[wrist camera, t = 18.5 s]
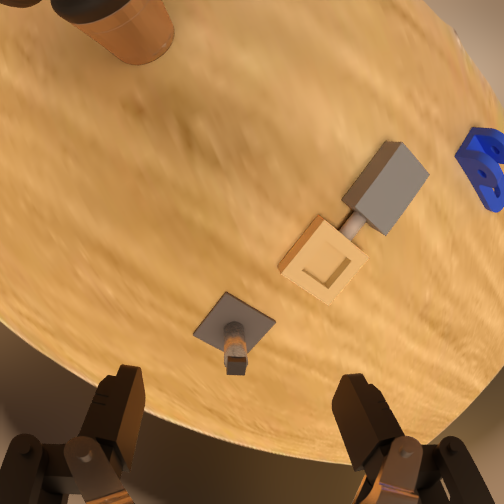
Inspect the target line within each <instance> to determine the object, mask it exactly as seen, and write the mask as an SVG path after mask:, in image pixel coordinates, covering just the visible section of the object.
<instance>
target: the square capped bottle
mask: <svg viewBox="0 0 504 504" xmlns="http://www.w3.org/2000/svg"><path fill="white" fill-rule="evenodd" d="M224 365H225V367H226V368H227V369H226V371H227V375H245V371H246V367H247V365H248V358H247V349H246V340H245V331H244V326H243V325H242V324H241V323H239V322H236V321H233V322H229V323H227V324H226V325H225V327H224Z"/></svg>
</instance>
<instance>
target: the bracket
mask: <svg viewBox="0 0 504 504" xmlns="http://www.w3.org/2000/svg"><path fill="white" fill-rule="evenodd" d="M455 158H456V159H457V161H458V162H459V164H460V165H461V167H462V169H463V170H464V172H465V174H466V175H467V177H468V178H469V180H470V182H471V184H472V185H473V187H474V189H475V190H476V192H477V194H478V196H479V198H480V200H481V201H482V203H483V205H484V207H485V208H486V209H487V210H490V211H492V212H499V211H501V210H502V209H503V207H504V174H503V172H502V170H501V168H500V166H499V164H498V163H500V164H504V134H503V133H501V132H500V131H498V130H496V129H492V128H476V127H472V128H471V130H470V132H469V133H468V135H467V137H466V138H465V140H464V142H463V143H462V145H461V146H460V148H459V150H458V151H457V153H456V154H455ZM492 188H494V190H495V191H493V189H492Z"/></svg>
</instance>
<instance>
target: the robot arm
mask: <svg viewBox="0 0 504 504" xmlns="http://www.w3.org/2000/svg"><path fill="white" fill-rule="evenodd" d="M40 1H41V0H0V3H1V4H4V5H7V6H11V7H18V8H26V7H30V6H33V5H35V4H37V3H39V2H40ZM51 5H52V8H53V10H54V11H55V12H56V13H57V14H58V15H59V16H60V17H62V18H63V19H65V20H66V21H68V22H70V23H71V24H72V25H74V26H75V27H77V28H78V29H80V30H81V31H83V32H84V33H85V34H87V35H88V36H90V37H91V38H92V39H94V40H95V41H97V42H98V43H99V44H101V45H102V46H103V47H105V48H106V49H107V50H109V51H110V52H111V53H112V54H114V55H115V56H116V57H118V58H119V59H120V60H122V61H123V62H125V63H128V64H131V65H141V64H146V63H149V62H151V61H153V60H155V59H157V58H159V57H160V56H161V55H163V54H164V53H165V52H166V51H167V49H168V48H169V46H170V45H171V43H172V41H173V37H174V27H173V24H172V22H171V20H170V18H169V15H168V13H167V11H166V8H165V6H164V4H163V2H162V0H51ZM385 401H386V400H385V398H384V397H383V395H382V393H381V391H380V390H378V389H377V388H376V387H375V386H374V385H373V384H368V383H367V381H366V379H365V377H364V376H363V374H361V373H358V374H346V375H343V376H342V378H341V380H340V383H339V385H338V388H337V390H336V392H335V395H334V397H333V400H332V411H333V414H334V417H335V420H336V422H337V425H338V428H339V430H340V433H341V436H342V438H343V441H344V444H345V447H346V449H347V452H348V455H349V457H350V460H351V463H352V466H353V468H354V471H360V470H365V472H366V475H365V476H364V478H363V480H362V482H361V484H360V487H359V489H358V491H357V493H356V496H355V498H354V500H353V502H352V504H495V503H494V500H493V498H492V496H491V494H490V492H489V490H488V488H487V486H486V484H485V482H484V480H483V478H482V476H481V474H480V472H479V471H478V468H477V466H476V465H475V463H474V461H473V459H472V457H471V455H470V453H469V452H468V450H467V448H466V446H465V445H464V443H463V442H462V441H461V440H460V439H459V438H457V437H454V436H448V437H445V438H444V439H443V440H442V441H441V442H440V443H439V444H438V445H421V444H420V443H419V441H418V440H416V439H415V438H413V437H410V436H405V435H404V433H403V431H402V429H401V427H400V426H399V424H398V422H397V420H396V418H395V416H394V415H393V413H392V411H391V409H389V408H390V407H389V405H388V404H387V402H385ZM144 407H145V389H144V384H143V378H142V371H141V368H140V367H136V366H129V365H123V364H122V365H121V366H120V368H119V370H118V373H117V375H116V376H111V375H108V376H106V377H105V378H104V379H103V380H102V381H101V382H100V383H99V385H98V388H97V390H96V394H95V396H94V397H93V400H92V403H91V405H90V407H89V410H88V412H87V415H86V417H85V420H84V423H83V425H82V428H81V431H80V433H79V435H78V436H77V437H74V438H72V439H70V440H69V441H68V442H67V443H66V444H41V443H40V441H39V440H38V439H37V438H36V437H34V436H33V435H30V434H20V435H17V436H16V437H14V438H13V439H12V441H11V443H10V445H9V447H8V450H7V453H6V455H5V458H4V460H3V463H2V466H1V469H0V504H67V502H68V496H69V494H81V495H82V497H83V499H84V501H85V503H86V504H135V503H134V502H133V500H132V499H131V497H130V496H129V494H128V493H127V491H126V490H125V488H124V486H123V485H122V483H121V482H120V479H121V474H122V471H124V472H129V473H130V472H131V467H132V462H133V457H134V452H135V447H136V443H137V438H138V433H139V429H140V424H141V419H142V416H143V411H144ZM442 478H443V480H444V483H445V485H446V487H447V489H448V492H449V494H450V501H449V500H448V497H447V495H446V492H445V490H444V488H443V486H442V483H441V481H440V480H441V479H442Z"/></svg>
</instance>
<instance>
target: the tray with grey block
mask: <svg viewBox="0 0 504 504" xmlns="http://www.w3.org/2000/svg"><path fill="white" fill-rule="evenodd" d="M429 175H430V174H429V173H428V172H427V171H426V169H425V168H424V167H423V166H422V165H421V163H420V162H419V161H418V160H417V159H416V157H415V156H414V155H413V154H412V153H411V152H410V150H409V149H408V148H407V147H406V146H405V145H404V144H403V142H384V144H383V145H382V147H381V148H380V149H379V151H378V152H377V153H376V155H375V156H374V157H373V159H372V160H371V161H370V163H369V164H368V165H367V167H366V168H365V170H364V171H363V172H362V174H361V175H360V176H359V177H358V179H357V180H356V181H355V183H354V184H353V185H352V187H351V188H350V189H349V191H348V192H347V193H346V195H345V196H344V197H343V199H342V201H343V202H344V203H345V204H347V205H348V206H349V207H350V208H351V209H352V210H353V211H354V212H353V213H352V215H351V216H350V217H349V218H348V220H347V221H346V222H345V224H344V225H343V226H342V227H341V229H340V230H339V231H338V230H337V229H335V228H334V227H333V226H332V225H330V224H329V223H328V222H327V221H326V220H324V219H323V218H322V217H320V216H319V215H318V216H317V217H316V218H315V219H314V221H313V222H312V223H311V225H310V226H309V227H308V228H307V230H306V231H305V232H304V233H303V235H302V236H301V237H300V239H299V240H298V241H297V242H296V244H295V245H294V246H293V247H292V249H291V250H290V251H289V252H288V254H287V255H286V256H285V257H284V259H283V260H282V261H281V262H280V264H279V265H278V269H279V271H280V274H281V275H283V276H284V277H286V278H287V279H289V280H290V281H292V282H293V283H295V284H296V285H298V286H299V287H301V288H302V289H304V290H305V291H307V292H308V293H310V294H311V295H313V296H314V297H316V298H317V299H319V300H320V301H322V302H323V303H325V304H326V305H328V306H329V305H330V304H331V303H332V302H333V301H334V299H335V298H336V297H337V296H338V295H339V294H340V293H341V291H342V290H343V289H344V288H345V287H346V286H347V284H348V283H349V282H350V281H351V280H352V278H353V277H354V276H355V275H356V274H357V272H358V271H359V270H360V269H361V268H362V266H363V265H364V264H365V263H366V261H367V260H368V259H369V257H368V256H367V255H366V254H365V253H364V252H363V251H361V250H360V249H359V248H358V247H357V246H356V245H354V244H353V243H352V242H351V240H352V239H353V238H354V236H355V235H356V234H357V233H358V231H359V230H360V229H361V227H362V226H363V225H364V224H365V222H366V223H368V224H369V225H370V226H371V227H372V228H374V229H376V230H377V231H379V232H380V233H382V234H383V235H385V236H386V235H387V234H388V232H389V231H390V230H391V228H392V227H393V226H394V224H395V223H396V222H397V220H398V219H399V218H400V216H401V215H402V214H403V212H404V211H405V209H406V208H407V207H408V205H409V204H410V202H411V201H412V200H413V198H414V197H415V195H416V194H417V193H418V191H419V190H420V188H421V187H422V185H423V184H424V182H425V181H426V179H427V178H428V176H429Z"/></svg>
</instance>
